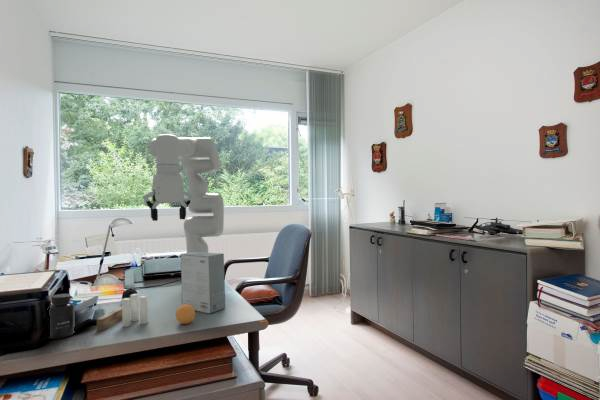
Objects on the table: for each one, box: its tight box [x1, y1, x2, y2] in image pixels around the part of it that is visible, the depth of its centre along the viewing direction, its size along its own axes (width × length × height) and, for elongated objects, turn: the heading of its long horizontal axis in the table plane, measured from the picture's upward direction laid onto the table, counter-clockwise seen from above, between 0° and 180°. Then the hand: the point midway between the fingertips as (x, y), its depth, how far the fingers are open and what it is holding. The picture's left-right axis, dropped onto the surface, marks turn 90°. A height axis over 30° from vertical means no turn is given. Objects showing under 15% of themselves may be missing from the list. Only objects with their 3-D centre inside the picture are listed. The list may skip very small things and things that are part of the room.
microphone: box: [121, 288, 138, 300], centre depth 151 cm, size 6×6×20 cm
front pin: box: [138, 295, 149, 325], centre depth 121 cm, size 2×2×8 cm
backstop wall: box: [96, 305, 122, 332], centre depth 121 cm, size 14×2×4 cm, turn 175°
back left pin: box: [121, 298, 132, 328], centre depth 118 cm, size 2×2×8 cm
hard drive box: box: [180, 251, 226, 314], centre depth 135 cm, size 16×8×20 cm, turn 56°
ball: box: [175, 304, 196, 325], centre depth 119 cm, size 6×6×6 cm
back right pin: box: [130, 293, 140, 322], centre depth 123 cm, size 2×2×8 cm
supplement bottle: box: [49, 293, 75, 340], centre depth 111 cm, size 7×7×12 cm
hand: (169, 219), depth 129 cm, fingers open, 9 cm apart
